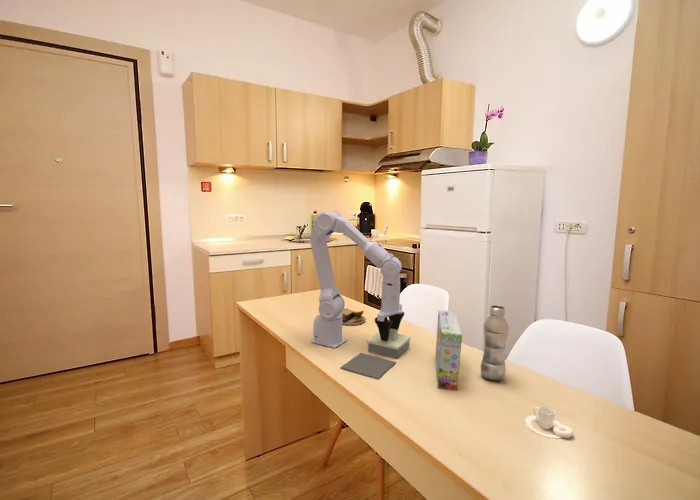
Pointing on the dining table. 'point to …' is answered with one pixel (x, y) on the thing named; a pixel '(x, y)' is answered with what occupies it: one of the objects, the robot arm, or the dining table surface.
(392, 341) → the lid
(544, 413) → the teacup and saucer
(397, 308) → the robot arm
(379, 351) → the box
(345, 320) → the toy sandwich meal
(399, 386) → the dining table surface
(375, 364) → the mat
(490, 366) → the plastic bottle
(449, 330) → the snack box
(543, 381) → the dining table surface
